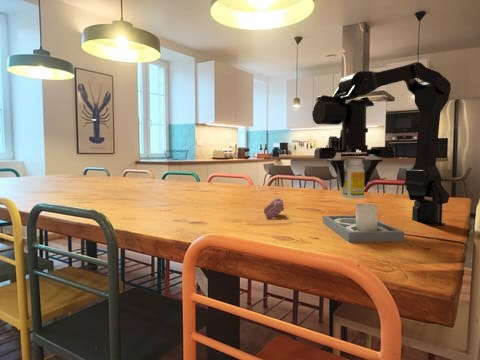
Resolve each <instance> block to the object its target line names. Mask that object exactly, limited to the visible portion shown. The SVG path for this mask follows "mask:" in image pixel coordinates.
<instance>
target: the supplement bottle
mask: <svg viewBox="0 0 480 360" xmlns="http://www.w3.org/2000/svg"><path fill="white" fill-rule="evenodd" d="M362 159H363V158H361V159H360V158H350V159H349V158H347V159H345V160H344V165H345V166H344V187H343V188H342V187H341V196H342V198H344V199H346V198H347V199H362V198H364V197H365V187H364V182H365V170H364V167H362V166H363V160H362Z"/></svg>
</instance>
